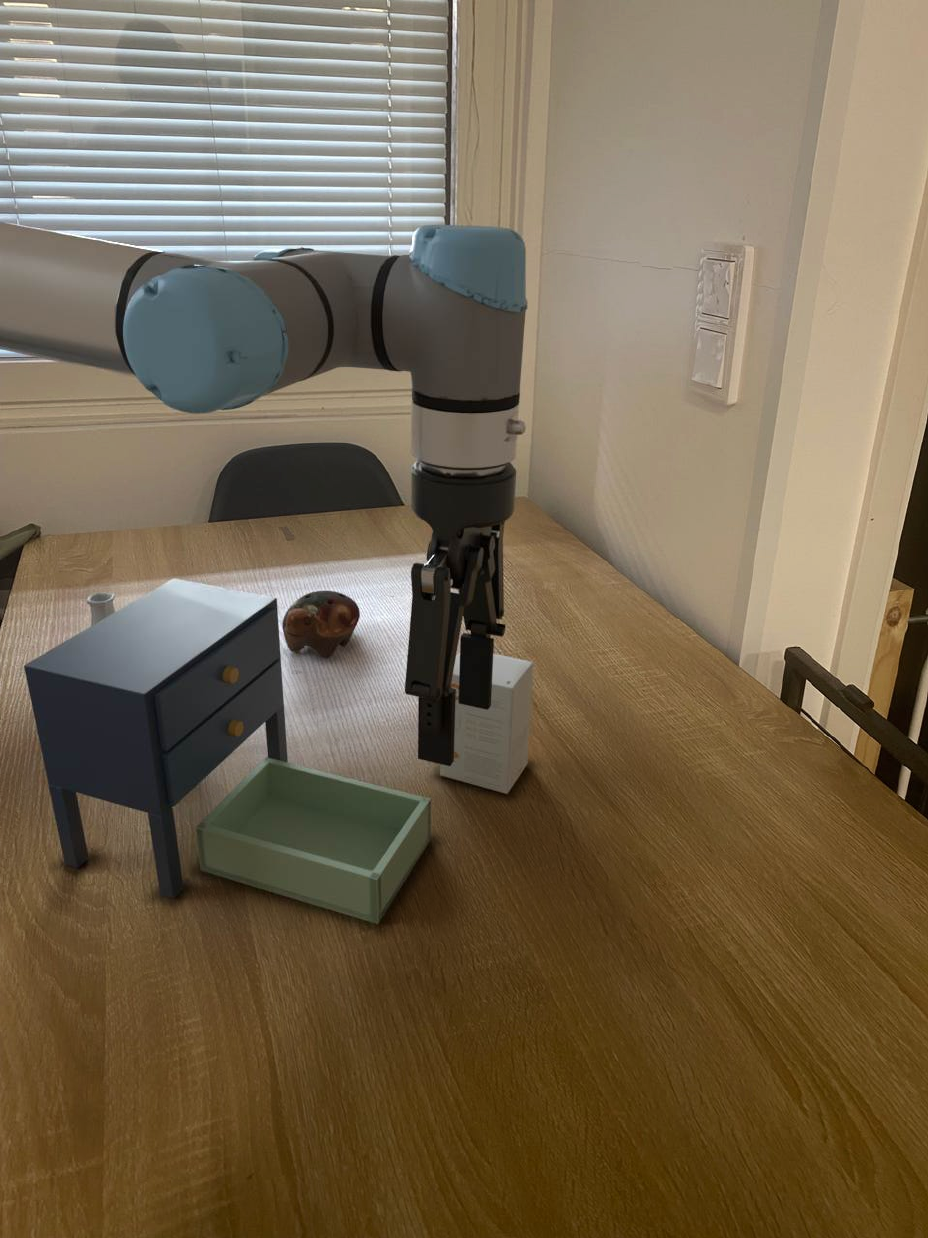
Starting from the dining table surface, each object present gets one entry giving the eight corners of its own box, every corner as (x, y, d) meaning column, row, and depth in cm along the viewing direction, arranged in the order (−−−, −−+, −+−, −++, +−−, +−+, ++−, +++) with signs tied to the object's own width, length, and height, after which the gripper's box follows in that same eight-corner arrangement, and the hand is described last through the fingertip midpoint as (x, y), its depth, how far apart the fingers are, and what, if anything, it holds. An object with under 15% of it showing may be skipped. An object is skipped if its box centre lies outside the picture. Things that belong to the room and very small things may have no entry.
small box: (528, 764, 101) (535, 661, 95) (507, 796, 95) (513, 688, 90) (461, 746, 103) (464, 644, 98) (437, 776, 98) (439, 670, 92)
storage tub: (200, 870, 84) (195, 827, 82) (269, 797, 94) (266, 756, 92) (378, 924, 78) (377, 879, 76) (430, 840, 89) (431, 798, 86)
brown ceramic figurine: (264, 666, 119) (259, 609, 116) (315, 625, 132) (311, 573, 129) (332, 675, 116) (328, 617, 113) (377, 633, 130) (375, 579, 127)
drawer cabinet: (64, 864, 84) (23, 665, 75) (194, 751, 101) (173, 577, 92) (187, 903, 80) (159, 698, 71) (300, 779, 97) (289, 600, 88)
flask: (124, 684, 114) (113, 611, 109) (70, 678, 115) (57, 606, 110) (151, 657, 120) (141, 588, 116) (100, 651, 121) (88, 583, 117)
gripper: (461, 513, 55) (453, 817, 65) (553, 433, 73) (535, 681, 82) (349, 496, 57) (357, 792, 67) (465, 423, 75) (458, 665, 85)
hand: (456, 730), depth 75 cm, fingers open, 8 cm apart
